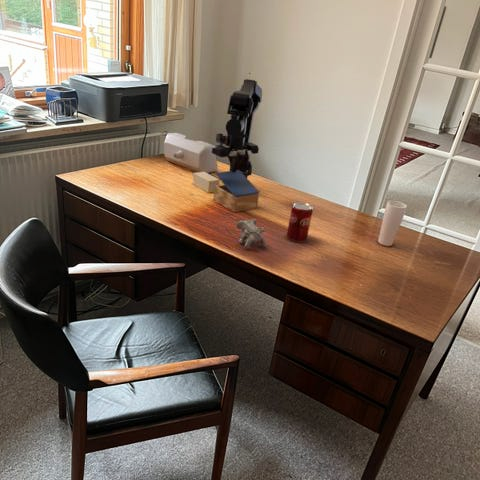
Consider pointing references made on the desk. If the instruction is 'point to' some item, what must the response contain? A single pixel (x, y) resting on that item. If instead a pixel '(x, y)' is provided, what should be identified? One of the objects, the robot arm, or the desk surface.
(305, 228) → the soda can
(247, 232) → the gray elephant figurine
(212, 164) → the tank
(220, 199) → the storage box
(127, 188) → the desk surface
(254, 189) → the blue lid
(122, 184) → the desk surface
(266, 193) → the desk surface
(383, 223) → the drinking glass
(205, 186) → the case
